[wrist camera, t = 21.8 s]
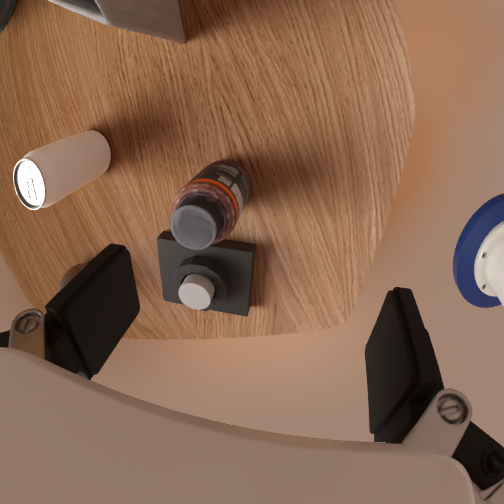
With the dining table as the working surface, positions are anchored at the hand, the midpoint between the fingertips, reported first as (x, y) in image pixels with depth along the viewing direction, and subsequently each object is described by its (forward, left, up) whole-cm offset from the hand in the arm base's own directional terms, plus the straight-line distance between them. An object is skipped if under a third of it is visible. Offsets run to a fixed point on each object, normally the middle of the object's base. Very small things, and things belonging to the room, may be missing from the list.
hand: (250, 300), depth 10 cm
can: (+25, +1, -24) cm, 34 cm away
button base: (+9, +16, -24) cm, 30 cm away
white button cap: (+9, +16, -20) cm, 27 cm away
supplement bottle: (+7, +4, -24) cm, 25 cm away
